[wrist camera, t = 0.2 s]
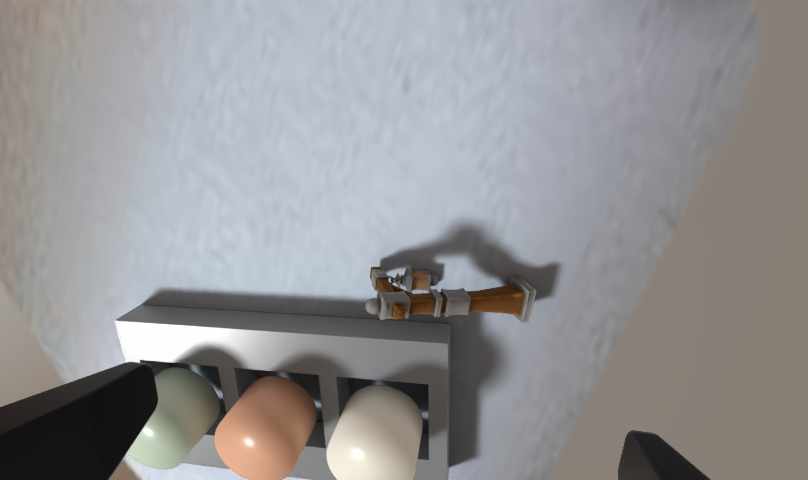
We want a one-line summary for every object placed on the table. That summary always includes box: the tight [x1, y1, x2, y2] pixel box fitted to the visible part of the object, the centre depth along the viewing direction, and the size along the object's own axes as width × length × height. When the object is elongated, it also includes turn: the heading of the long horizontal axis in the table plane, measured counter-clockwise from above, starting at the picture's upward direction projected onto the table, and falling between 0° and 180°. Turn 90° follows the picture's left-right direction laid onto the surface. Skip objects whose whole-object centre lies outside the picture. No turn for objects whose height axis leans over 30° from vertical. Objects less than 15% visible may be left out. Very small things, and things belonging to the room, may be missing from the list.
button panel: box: [115, 305, 451, 480], centre depth 25 cm, size 10×19×2 cm, turn 91°
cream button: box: [326, 385, 423, 480], centre depth 22 cm, size 4×4×3 cm
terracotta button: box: [214, 376, 317, 480], centre depth 23 cm, size 4×4×3 cm
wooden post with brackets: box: [366, 267, 536, 324], centre depth 21 cm, size 2×8×4 cm, turn 84°
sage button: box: [127, 367, 220, 469], centre depth 24 cm, size 4×4×3 cm
